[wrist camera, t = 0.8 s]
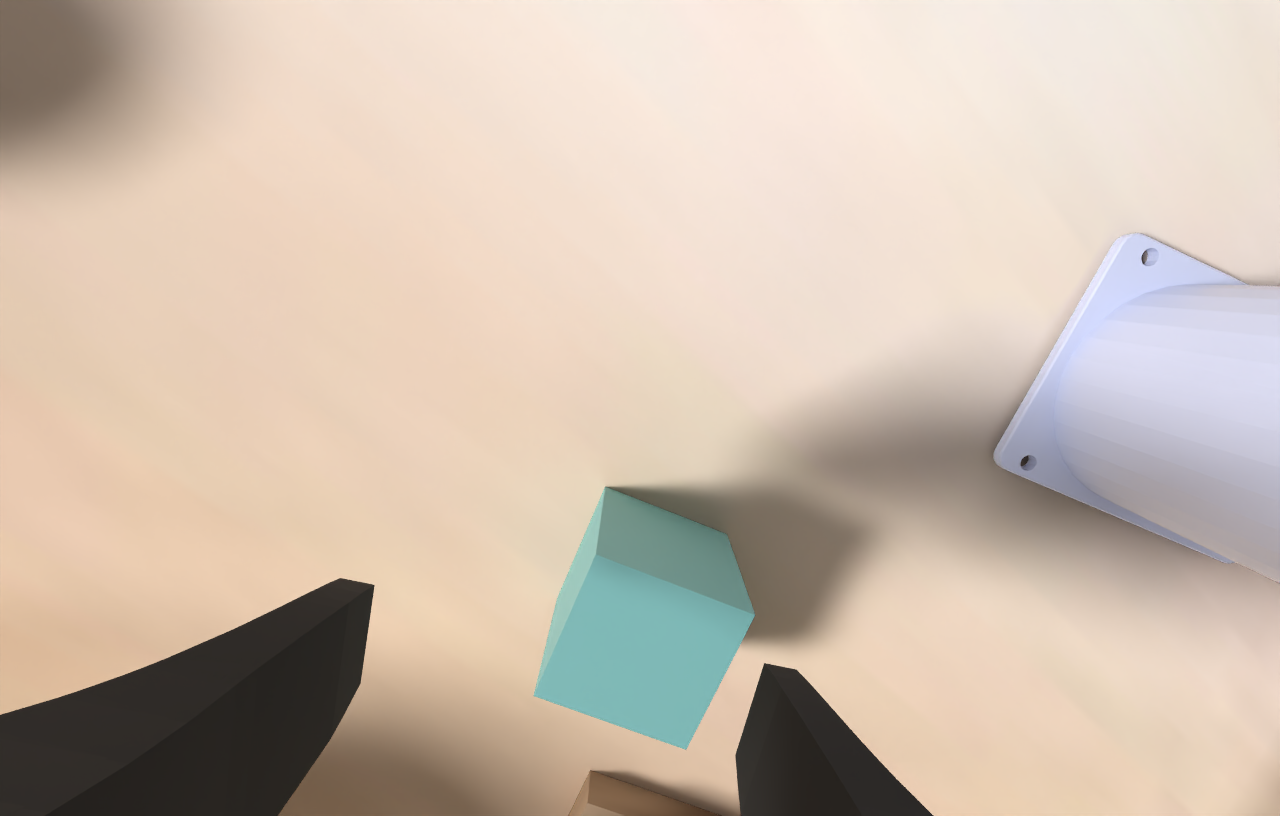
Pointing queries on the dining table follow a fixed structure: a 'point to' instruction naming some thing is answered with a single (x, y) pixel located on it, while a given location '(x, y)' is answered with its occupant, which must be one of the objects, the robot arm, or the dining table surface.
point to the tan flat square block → (627, 800)
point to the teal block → (645, 621)
